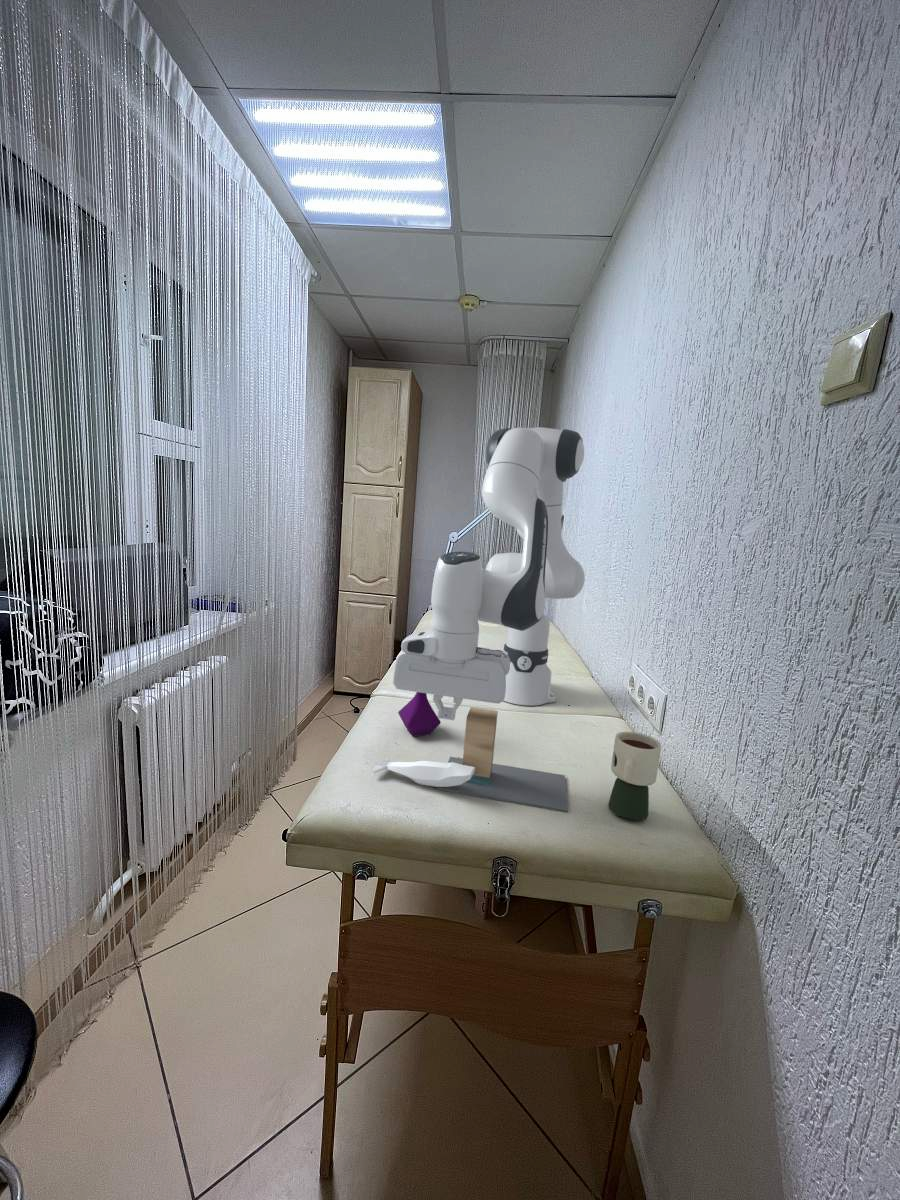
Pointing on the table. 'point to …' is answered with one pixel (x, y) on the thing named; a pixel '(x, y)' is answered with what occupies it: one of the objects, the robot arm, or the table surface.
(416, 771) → the white fish figurine
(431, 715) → the perfume bottle
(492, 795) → the rubber mat
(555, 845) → the table surface
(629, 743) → the character mug
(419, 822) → the table surface
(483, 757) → the oak block
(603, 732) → the table surface
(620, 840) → the table surface
